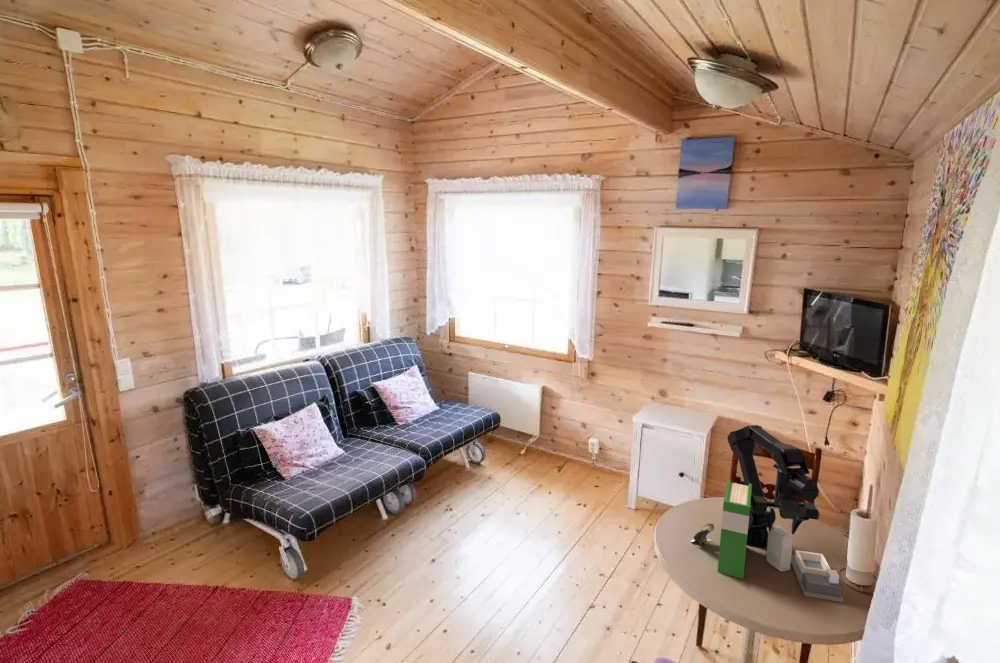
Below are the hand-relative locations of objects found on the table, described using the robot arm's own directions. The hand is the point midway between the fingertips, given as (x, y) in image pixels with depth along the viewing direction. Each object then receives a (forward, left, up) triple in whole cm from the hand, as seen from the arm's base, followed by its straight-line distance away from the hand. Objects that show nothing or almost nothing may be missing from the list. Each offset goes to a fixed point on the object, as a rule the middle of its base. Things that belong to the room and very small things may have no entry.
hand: (781, 532), depth 167 cm
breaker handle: (+12, -11, -8) cm, 18 cm away
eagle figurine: (-23, +3, -12) cm, 26 cm away
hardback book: (-14, -1, -12) cm, 18 cm away
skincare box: (0, 0, -12) cm, 12 cm away
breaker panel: (+9, -4, -12) cm, 16 cm away
